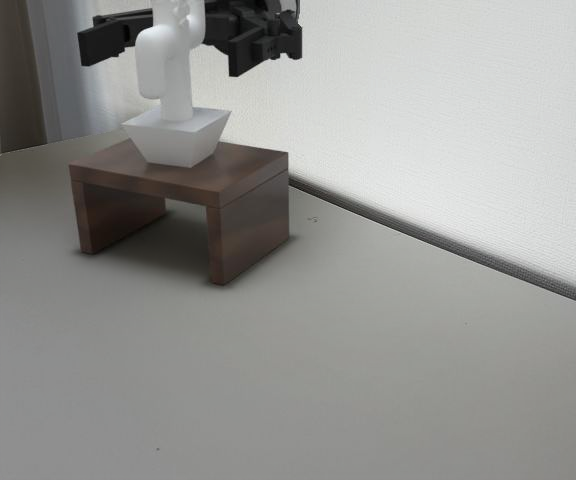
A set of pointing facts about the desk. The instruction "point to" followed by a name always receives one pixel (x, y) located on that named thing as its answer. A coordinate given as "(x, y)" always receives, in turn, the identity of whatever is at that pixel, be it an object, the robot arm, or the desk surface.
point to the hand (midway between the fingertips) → (155, 54)
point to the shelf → (187, 199)
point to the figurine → (173, 89)
